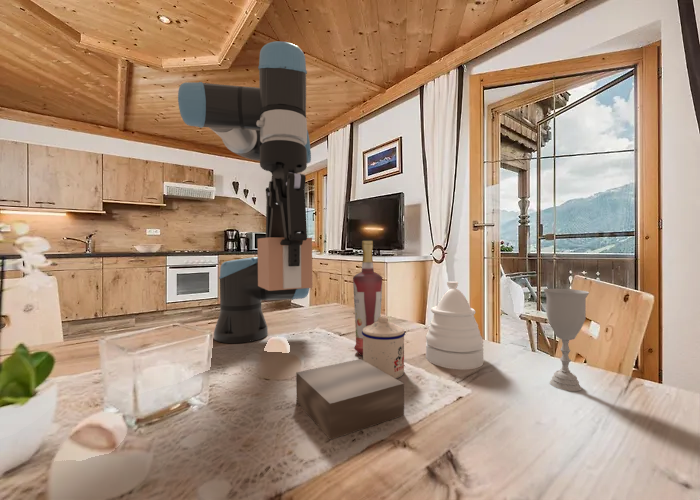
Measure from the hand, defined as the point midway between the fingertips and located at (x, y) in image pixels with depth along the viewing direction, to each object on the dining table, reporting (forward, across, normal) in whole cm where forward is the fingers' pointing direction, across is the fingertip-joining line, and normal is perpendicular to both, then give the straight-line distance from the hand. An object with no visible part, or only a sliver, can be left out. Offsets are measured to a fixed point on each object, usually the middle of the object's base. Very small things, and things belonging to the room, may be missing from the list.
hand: (284, 285), depth 54 cm
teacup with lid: (+20, -6, +24) cm, 32 cm away
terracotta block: (0, 0, 0) cm, 0 cm away
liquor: (+20, -17, +27) cm, 38 cm away
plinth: (+20, +5, +9) cm, 23 cm away
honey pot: (+21, -4, +42) cm, 47 cm away
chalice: (+21, +17, +49) cm, 56 cm away
